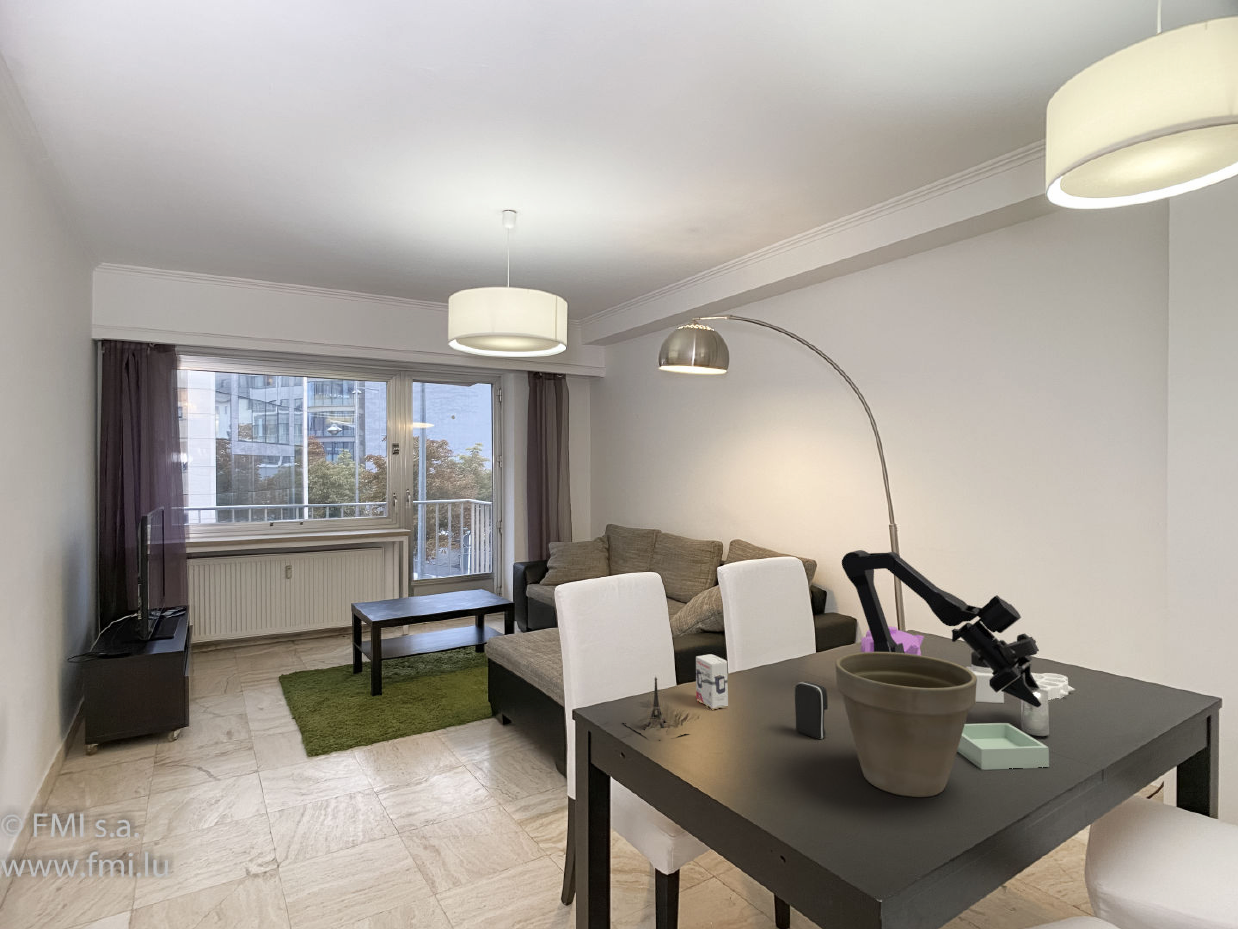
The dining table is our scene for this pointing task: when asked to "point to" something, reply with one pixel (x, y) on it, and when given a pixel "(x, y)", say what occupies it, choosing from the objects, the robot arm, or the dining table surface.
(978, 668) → the medicine bottle
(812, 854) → the dining table surface
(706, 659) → the ink box
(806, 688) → the battery charger
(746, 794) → the dining table surface
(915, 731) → the plant pot
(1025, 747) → the tray
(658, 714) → the eiffel tower figurine
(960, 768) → the dining table surface
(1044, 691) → the can
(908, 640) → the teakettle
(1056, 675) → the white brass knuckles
